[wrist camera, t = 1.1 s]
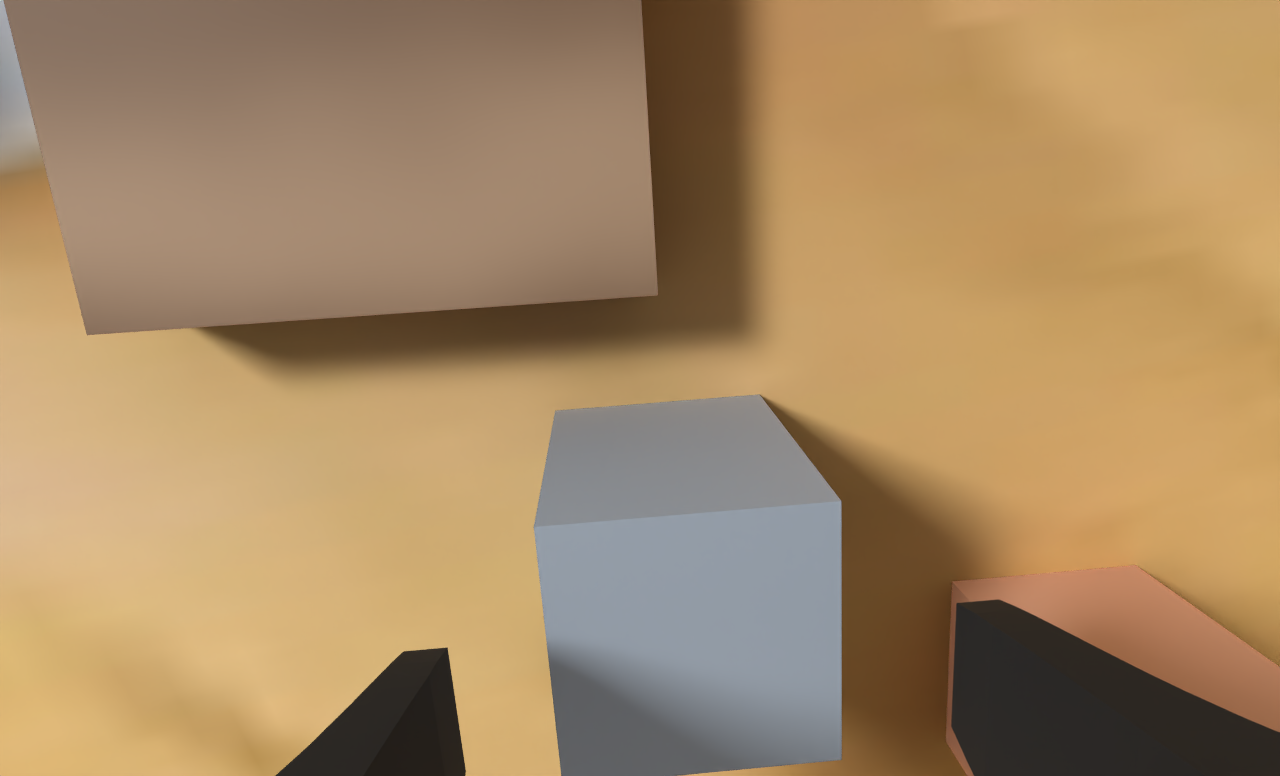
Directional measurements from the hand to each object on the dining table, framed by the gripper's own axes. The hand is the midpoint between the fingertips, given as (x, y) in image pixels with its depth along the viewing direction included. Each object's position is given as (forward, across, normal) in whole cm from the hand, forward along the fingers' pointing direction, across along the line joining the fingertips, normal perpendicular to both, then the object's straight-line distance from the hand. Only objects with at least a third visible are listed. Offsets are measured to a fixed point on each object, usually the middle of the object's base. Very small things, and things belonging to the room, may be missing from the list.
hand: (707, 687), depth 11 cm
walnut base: (+7, +5, -10) cm, 13 cm away
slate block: (+7, 0, 0) cm, 7 cm away
